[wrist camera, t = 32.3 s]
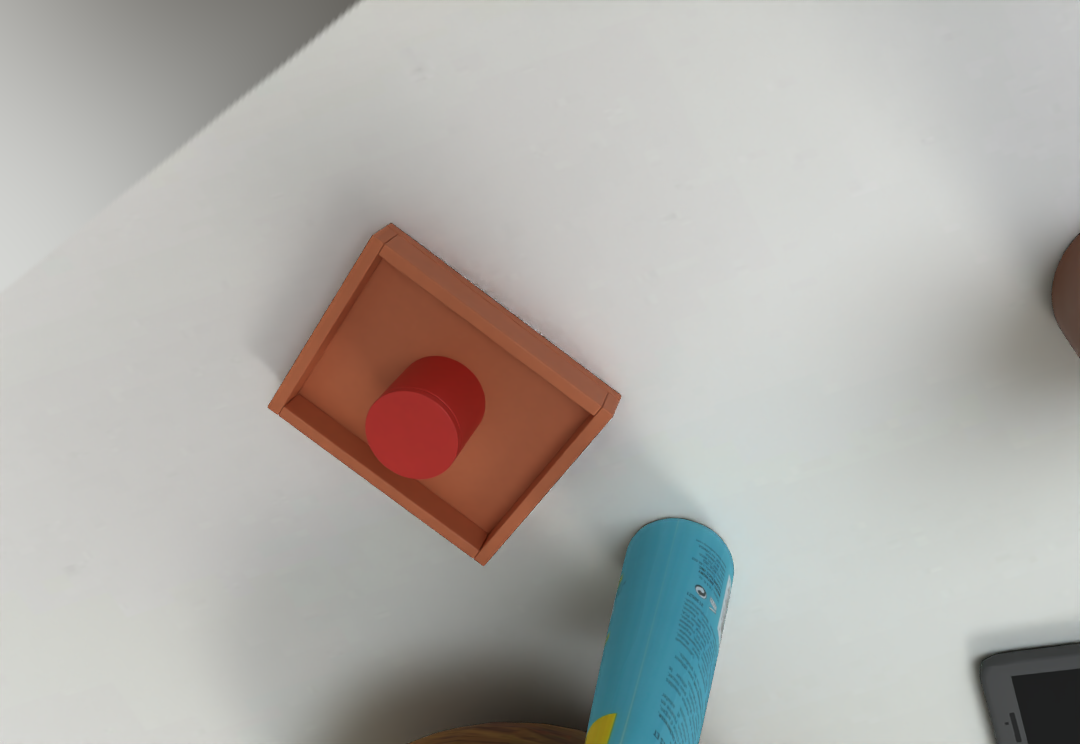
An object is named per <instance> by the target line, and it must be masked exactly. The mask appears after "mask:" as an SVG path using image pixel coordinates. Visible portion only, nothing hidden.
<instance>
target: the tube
mask: <svg viewBox="0 0 1080 744" xmlns="http://www.w3.org/2000/svg"><path fill="white" fill-rule="evenodd" d="M733 575H734V565H733V560H732V556H731V553H730V551H729V549H728V548H727V546H726V544H725V543H724V542H723V541H722V539H721V538H720V537H719V536H718V535H717V534H716V533H715V532H713V531H712V530H711V529H709V528H707V527H705V526H703V525H701V524H699V523H696V522H693V521H690V520H686V519H681V518H667V519H662V520H657V521H655V522H652V523H650V524H647V525H646V526H644V527H643V528H641V529H640V530H639V531H638V532H637V533H636V534H635V535H634V537H633V538H632V539H631V541H630V543H629V546H628V548H627V552H626V556H625V559H624V563H623V568H622V572H621V576H620V580H619V584H618V588H617V593H616V597H615V602H614V606H613V611H612V615H611V619H610V623H609V628H608V632H607V637H606V642H605V646H604V651H603V656H602V660H601V665H600V670H599V675H598V680H597V684H596V689H595V694H594V699H593V704H592V709H591V714H590V719H589V724H588V729H587V734H586V739H585V744H698V743H699V739H700V734H701V730H702V725H703V721H704V716H705V712H706V707H707V703H708V698H709V693H710V689H711V684H712V679H713V675H714V670H715V666H716V661H717V656H718V652H719V647H720V642H721V637H722V632H723V628H724V622H725V618H726V613H727V608H728V603H729V597H730V593H731V587H732V581H733Z"/></svg>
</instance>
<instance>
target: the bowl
mask: <svg viewBox="0 0 1080 744" xmlns="http://www.w3.org/2000/svg"><path fill="white" fill-rule="evenodd" d="M586 734H587V732H584V731H581V730H577V729H571V728H566V727H560V726H555V725H549V724H543V723H511V722H491V723H484V724H478V725H471V726H465V727H458V728H454V729H450V730H445V731H441V732H437V733H434V734H431V735H429V736H426V737H423V738H421V739H418V740H415V741H413V742H410V743H407V744H585V739H586Z"/></svg>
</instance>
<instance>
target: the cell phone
mask: <svg viewBox="0 0 1080 744" xmlns="http://www.w3.org/2000/svg"><path fill="white" fill-rule="evenodd" d="M980 679H981V683H982V688H983V691H984V695H985V699H986V703H987V706H988V710H989V714H990V718H991V721H992V725H993V729H994V733H995V736H996V740H997V744H1080V644H1072V645H1064V646H1056V647H1047V648H1039V649H1031V650H1022V651H1014V652H1008V653H1002V654H996V655H992V656H991V657H989V658H987V659H985V660H983V662H982V665H981V668H980Z"/></svg>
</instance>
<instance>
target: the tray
mask: <svg viewBox="0 0 1080 744" xmlns="http://www.w3.org/2000/svg"><path fill="white" fill-rule="evenodd" d="M428 356H442V357H447V358H451V359H453V360H456V361H458V362H460V363H461V364H463V365H464V366H466V367H467V368H468V369H469V370H470V371H471V372H472V373H473V374H474V375H475V376H476V378H477V379H478V380H479V382H480V384H481V386H482V389H483V391H484V395H485V413H484V416H483V419H482V421H481V423H480V424H479V426H478V427H477V429H476V430H475V431H474V433H473V434H472V436H471V437H470V439H469V440H468V442H467V443H466V445H465V446H464V447H463V449H462V450H461V452H460V453H459V455H458V456H457V458H456V459H455V461H454V462H453V463H452V465H451V466H450V467H449V468H448V469H447V470H446V471H445V472H443V473H442V474H440V475H438V476H436V477H433V478H429V479H411V478H407V477H403V476H401V475H398V474H396V473H394V472H393V471H391V470H390V469H388V468H387V467H385V466H384V465H383V464H382V463H381V462H380V461H379V460H378V459H377V457H376V456H375V455H374V453H373V452H372V450H371V448H370V446H369V444H368V441H367V438H366V432H365V422H366V417H367V414H368V411H369V409H370V408H371V406H372V405H373V403H374V402H375V401H376V400H377V399H378V398H379V397H380V396H381V395H382V394H383V393H384V392H385V391H386V390H387V388H388V387H389V386H390V385H391V384H392V383H393V382H394V381H395V380H396V379H397V378H398V377H399V376H400V375H401V374H402V373H403V372H404V371H405V370H406V369H407V368H408V366H410V365H411V364H412V363H413V362H415V361H417V360H419V359H421V358H424V357H428ZM620 399H621V395H620V394H619V393H617V392H616V391H615V390H613V389H612V388H611V387H609V386H608V385H607V384H605V383H604V382H603V381H601V380H600V379H599V378H597V377H596V376H595V375H593V374H592V373H591V372H589V371H588V370H587V369H585V368H584V367H583V366H581V365H580V364H579V363H577V362H576V361H575V360H573V359H572V358H571V357H569V356H568V355H567V354H565V353H564V352H563V351H561V350H560V349H559V348H557V347H556V346H555V345H553V344H552V343H551V342H549V341H548V340H547V339H545V338H544V337H543V336H541V335H540V334H539V333H537V332H536V331H535V330H533V329H532V328H531V327H529V326H528V325H527V324H525V323H524V322H523V321H521V320H520V319H519V318H517V317H516V316H515V315H513V314H512V313H511V312H509V311H508V310H507V309H505V308H504V307H503V306H501V305H500V304H499V303H497V302H496V301H495V300H493V299H492V298H491V297H489V296H488V295H487V294H485V293H484V292H483V291H481V290H480V289H479V288H477V287H476V286H475V285H473V284H472V283H471V282H469V281H468V280H467V279H465V278H464V277H463V276H461V275H460V274H459V273H457V272H456V271H455V270H453V269H452V268H451V267H449V266H448V265H447V264H445V263H444V262H443V261H441V260H440V259H439V258H437V257H436V256H435V255H433V254H432V253H431V252H429V251H428V250H427V249H425V248H424V247H423V246H421V245H420V244H419V243H417V242H416V241H415V240H413V239H412V238H411V237H409V236H408V235H407V234H406V233H404V232H403V231H402V230H400V229H399V228H398V227H396V226H395V225H394V224H392V223H390V224H389V225H387V226H386V227H384V228H383V229H381V230H380V231H378V232H377V233H375V234H374V235H372V236H371V238H370V240H369V241H368V243H367V245H366V246H365V248H364V250H363V251H362V253H361V255H360V256H359V258H358V259H357V261H356V263H355V264H354V266H353V268H352V269H351V271H350V273H349V274H348V276H347V277H346V279H345V281H344V282H343V284H342V286H341V287H340V289H339V291H338V292H337V294H336V295H335V297H334V299H333V300H332V302H331V304H330V305H329V307H328V309H327V310H326V312H325V313H324V315H323V317H322V318H321V320H320V322H319V323H318V325H317V327H316V328H315V330H314V331H313V333H312V335H311V336H310V338H309V340H308V341H307V343H306V345H305V346H304V348H303V349H302V351H301V353H300V354H299V356H298V358H297V359H296V361H295V363H294V364H293V366H292V367H291V369H290V371H289V372H288V374H287V376H286V377H285V379H284V381H283V382H282V384H281V386H280V387H279V389H278V390H277V392H276V394H275V395H274V397H273V399H272V400H271V402H270V404H269V405H268V408H269V409H270V410H272V411H273V412H274V413H276V414H279V416H280V417H281V418H283V419H284V420H285V421H287V422H288V423H289V424H291V425H292V426H294V427H295V428H296V429H298V430H299V431H300V432H302V433H303V434H304V435H306V436H307V437H308V438H310V439H311V440H313V441H314V442H315V443H317V444H318V445H319V446H321V447H322V448H323V449H325V450H326V451H328V452H329V453H330V454H332V455H333V456H334V457H336V458H337V459H338V460H340V461H341V462H342V463H344V464H345V465H347V466H348V467H349V468H351V469H352V470H353V471H355V472H356V473H357V474H359V475H360V476H361V477H363V478H364V479H366V480H367V481H368V482H370V483H371V484H372V485H374V486H375V487H376V488H378V489H379V490H381V491H382V492H383V493H385V494H386V495H387V496H389V497H390V498H391V499H393V500H394V501H395V502H397V503H398V504H400V505H401V506H402V507H404V508H405V509H406V510H408V511H409V512H410V513H412V514H413V515H414V516H416V517H417V518H419V519H420V520H421V521H423V522H424V523H425V524H427V525H428V526H429V527H431V528H432V529H434V530H435V531H436V532H438V533H439V534H440V535H442V536H443V537H444V538H446V539H447V540H448V541H450V542H451V543H453V544H454V545H455V546H457V547H458V548H459V549H461V550H462V551H463V552H465V553H466V554H467V555H469V556H470V557H472V558H474V560H476V561H477V562H478V563H480V564H481V565H482V566H484V565H486V563H487V562H488V561H489V560H490V559H491V558H492V556H493V555H494V554H495V553H496V552H497V551H498V549H499V548H500V547H501V546H502V545H503V544H504V542H505V541H506V540H507V539H508V538H509V537H510V536H511V534H512V533H513V532H514V531H515V530H516V529H517V527H518V526H519V525H520V524H521V523H522V522H523V520H524V519H525V518H526V517H527V516H528V515H529V513H530V512H531V511H532V510H533V509H534V508H535V506H536V505H537V504H538V503H539V502H540V501H541V499H542V498H543V497H544V496H545V495H546V494H547V492H548V491H549V490H550V489H551V488H552V487H553V486H554V484H555V483H556V482H557V481H558V480H559V479H560V477H561V476H562V475H563V474H564V473H565V472H566V470H567V469H568V468H569V467H570V466H571V465H572V463H573V462H574V461H575V460H576V459H577V458H578V456H579V455H580V454H581V453H582V452H583V451H584V449H585V448H586V447H587V446H588V445H589V444H590V443H591V441H592V440H593V439H594V438H595V437H596V436H597V434H598V433H599V432H600V431H601V430H602V429H603V427H604V426H605V425H606V424H607V423H608V422H609V420H610V419H611V418H612V417H613V415H614V413H615V410H616V408H617V406H618V403H619V401H620Z"/></svg>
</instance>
